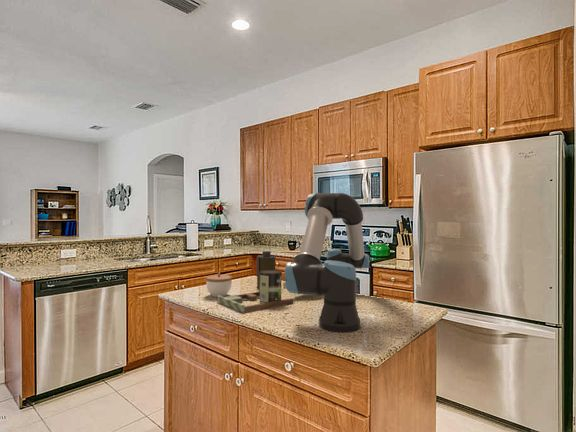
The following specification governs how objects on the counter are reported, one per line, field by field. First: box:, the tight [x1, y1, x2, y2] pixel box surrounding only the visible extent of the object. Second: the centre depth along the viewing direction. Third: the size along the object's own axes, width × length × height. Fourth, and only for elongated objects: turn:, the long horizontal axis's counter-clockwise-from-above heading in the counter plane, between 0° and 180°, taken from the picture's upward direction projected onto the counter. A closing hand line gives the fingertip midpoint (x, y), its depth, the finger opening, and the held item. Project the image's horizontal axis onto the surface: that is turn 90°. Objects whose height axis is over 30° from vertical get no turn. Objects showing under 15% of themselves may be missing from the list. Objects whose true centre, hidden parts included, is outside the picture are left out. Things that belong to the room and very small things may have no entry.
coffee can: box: [258, 269, 283, 304], centre depth 167 cm, size 10×10×14 cm
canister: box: [256, 250, 276, 290], centre depth 198 cm, size 11×10×20 cm
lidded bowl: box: [205, 272, 233, 298], centre depth 180 cm, size 13×13×11 cm
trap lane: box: [217, 291, 294, 314], centre depth 165 cm, size 22×27×3 cm
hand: (284, 285), depth 172 cm, fingers closed
